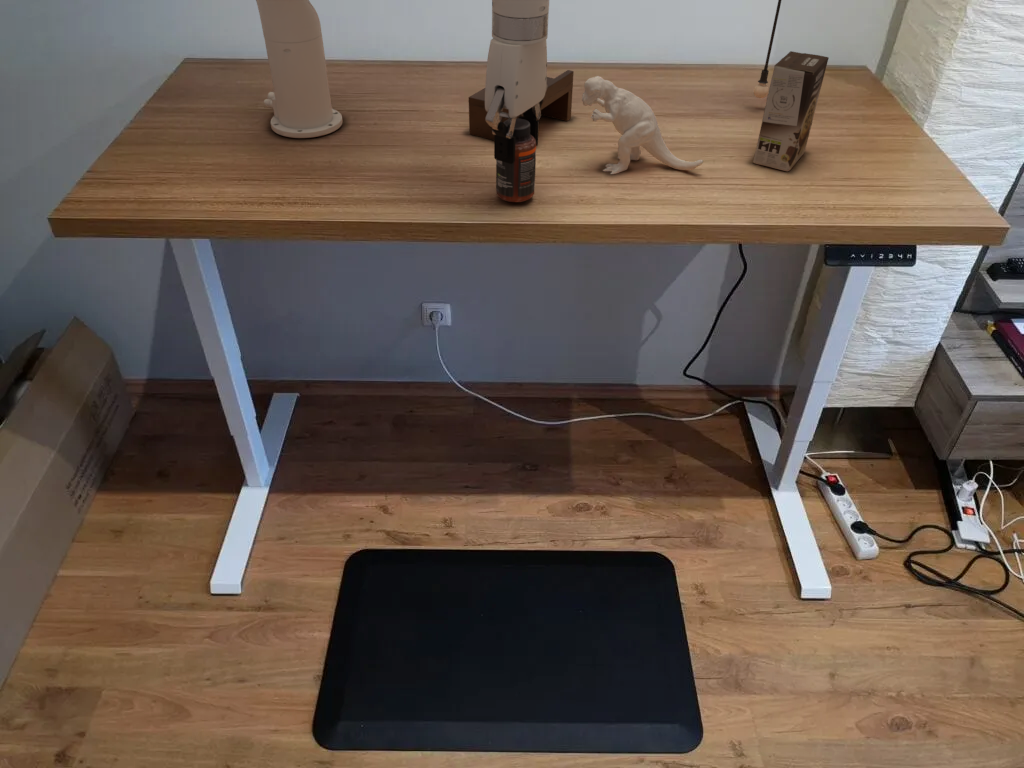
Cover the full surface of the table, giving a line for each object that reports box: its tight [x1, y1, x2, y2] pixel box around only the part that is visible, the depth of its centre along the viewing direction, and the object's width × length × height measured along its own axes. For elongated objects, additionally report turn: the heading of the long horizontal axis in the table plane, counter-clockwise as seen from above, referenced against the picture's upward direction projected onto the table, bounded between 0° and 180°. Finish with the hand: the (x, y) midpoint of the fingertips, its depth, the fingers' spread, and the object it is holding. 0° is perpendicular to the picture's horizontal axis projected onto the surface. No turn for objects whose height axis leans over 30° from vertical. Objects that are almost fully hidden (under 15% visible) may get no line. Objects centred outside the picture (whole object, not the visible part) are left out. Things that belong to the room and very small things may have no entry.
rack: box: [468, 69, 574, 141], centre depth 142 cm, size 12×16×9 cm
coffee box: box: [752, 50, 829, 172], centre depth 130 cm, size 9×6×16 cm
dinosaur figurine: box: [581, 75, 704, 175], centre depth 128 cm, size 20×10×15 cm, turn 79°
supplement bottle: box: [495, 118, 537, 203], centre depth 120 cm, size 6×6×11 cm
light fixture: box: [753, 0, 782, 99], centre depth 145 cm, size 7×7×25 cm
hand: (516, 151), depth 119 cm, fingers closed on supplement bottle, 6 cm apart
